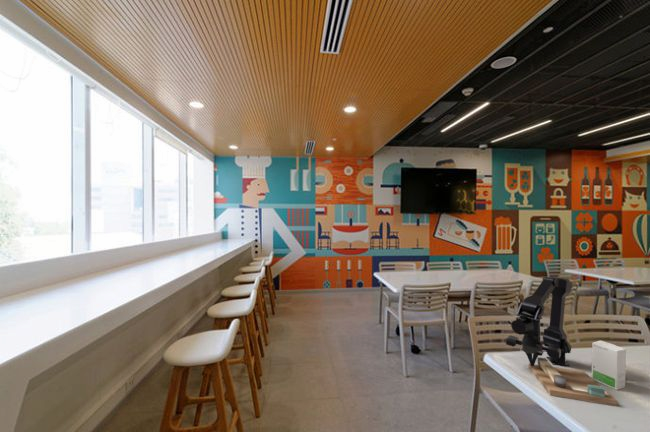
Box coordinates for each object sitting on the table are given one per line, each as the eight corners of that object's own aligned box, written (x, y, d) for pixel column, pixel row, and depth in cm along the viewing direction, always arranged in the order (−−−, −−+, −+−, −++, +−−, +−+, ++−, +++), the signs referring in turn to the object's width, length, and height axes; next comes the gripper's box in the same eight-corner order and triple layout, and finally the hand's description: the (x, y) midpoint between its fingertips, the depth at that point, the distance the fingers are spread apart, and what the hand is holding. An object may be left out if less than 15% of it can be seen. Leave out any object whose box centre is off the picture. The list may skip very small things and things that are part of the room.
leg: (567, 388, 105) (567, 380, 105) (556, 386, 106) (556, 379, 106) (546, 365, 122) (546, 358, 122) (536, 363, 123) (536, 357, 123)
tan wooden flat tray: (528, 368, 124) (528, 357, 124) (583, 375, 118) (583, 364, 118) (550, 395, 105) (549, 382, 105) (616, 406, 99) (616, 392, 99)
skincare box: (590, 379, 115) (590, 342, 115) (600, 376, 117) (599, 339, 118) (617, 391, 107) (617, 350, 107) (627, 387, 109) (626, 348, 110)
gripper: (502, 329, 121) (502, 364, 121) (557, 342, 108) (557, 382, 108) (508, 322, 129) (509, 355, 129) (560, 334, 116) (561, 371, 116)
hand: (532, 365), depth 120 cm, fingers closed
